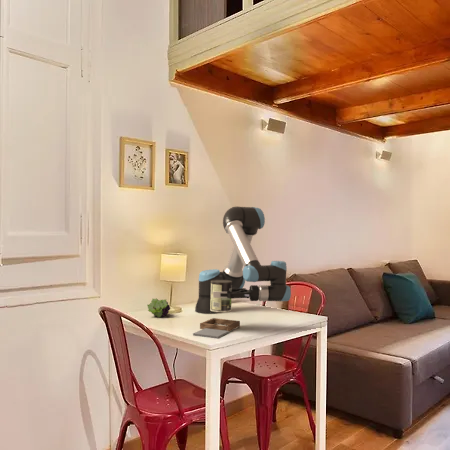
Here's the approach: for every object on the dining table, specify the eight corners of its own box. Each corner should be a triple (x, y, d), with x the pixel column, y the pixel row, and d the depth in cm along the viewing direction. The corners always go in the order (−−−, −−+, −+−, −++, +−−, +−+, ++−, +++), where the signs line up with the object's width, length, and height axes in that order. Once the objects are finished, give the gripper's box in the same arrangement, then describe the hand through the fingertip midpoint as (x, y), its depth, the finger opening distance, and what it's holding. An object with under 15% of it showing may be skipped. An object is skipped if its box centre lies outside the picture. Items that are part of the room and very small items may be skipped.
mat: (193, 335, 199) (193, 333, 199) (205, 329, 210) (205, 328, 210) (217, 338, 194) (217, 336, 194) (228, 332, 205) (228, 331, 205)
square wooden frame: (199, 328, 212) (200, 323, 212) (213, 323, 225) (213, 318, 225) (227, 332, 206) (228, 326, 206) (239, 326, 219) (239, 321, 219)
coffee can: (231, 308, 221) (232, 279, 221) (231, 312, 210) (232, 282, 210) (210, 307, 221) (211, 279, 221) (209, 312, 211) (210, 282, 210)
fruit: (171, 320, 243) (160, 318, 230) (154, 315, 247) (142, 313, 233) (176, 302, 245) (165, 299, 232) (159, 297, 249) (147, 294, 235)
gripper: (262, 305, 206) (213, 304, 204) (254, 296, 229) (210, 296, 226) (262, 289, 206) (214, 288, 204) (254, 282, 229) (210, 281, 226)
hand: (212, 292), depth 215 cm, fingers closed on coffee can, 10 cm apart
